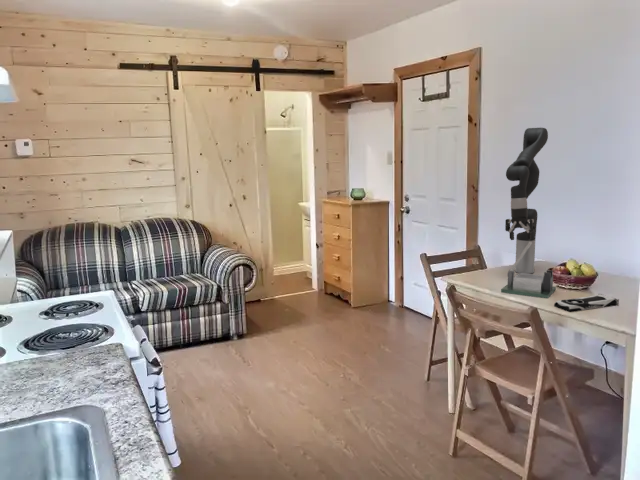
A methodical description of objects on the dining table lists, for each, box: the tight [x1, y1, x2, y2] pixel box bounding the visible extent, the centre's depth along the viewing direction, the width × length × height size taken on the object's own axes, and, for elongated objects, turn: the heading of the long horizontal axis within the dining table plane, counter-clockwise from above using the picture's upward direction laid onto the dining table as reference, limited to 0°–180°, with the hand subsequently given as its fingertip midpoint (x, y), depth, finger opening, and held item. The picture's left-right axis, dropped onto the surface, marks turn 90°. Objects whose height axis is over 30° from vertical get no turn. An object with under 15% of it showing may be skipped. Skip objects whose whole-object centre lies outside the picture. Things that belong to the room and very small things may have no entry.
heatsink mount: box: [500, 269, 556, 299], centre depth 246 cm, size 20×16×10 cm
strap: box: [508, 242, 532, 272], centre depth 246 cm, size 17×3×2 cm
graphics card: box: [553, 293, 620, 313], centre depth 223 cm, size 10×3×25 cm
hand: (520, 240), depth 266 cm, fingers open, 8 cm apart
